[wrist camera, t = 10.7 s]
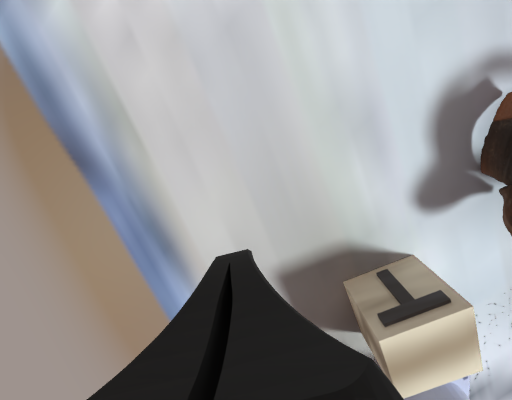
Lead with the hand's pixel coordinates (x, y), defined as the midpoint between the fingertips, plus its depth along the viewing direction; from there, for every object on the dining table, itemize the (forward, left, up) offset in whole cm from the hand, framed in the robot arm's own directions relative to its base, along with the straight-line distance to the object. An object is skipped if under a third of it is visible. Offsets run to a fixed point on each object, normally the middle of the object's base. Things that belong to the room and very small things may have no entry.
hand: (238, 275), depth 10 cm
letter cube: (-12, -10, -10) cm, 18 cm away
